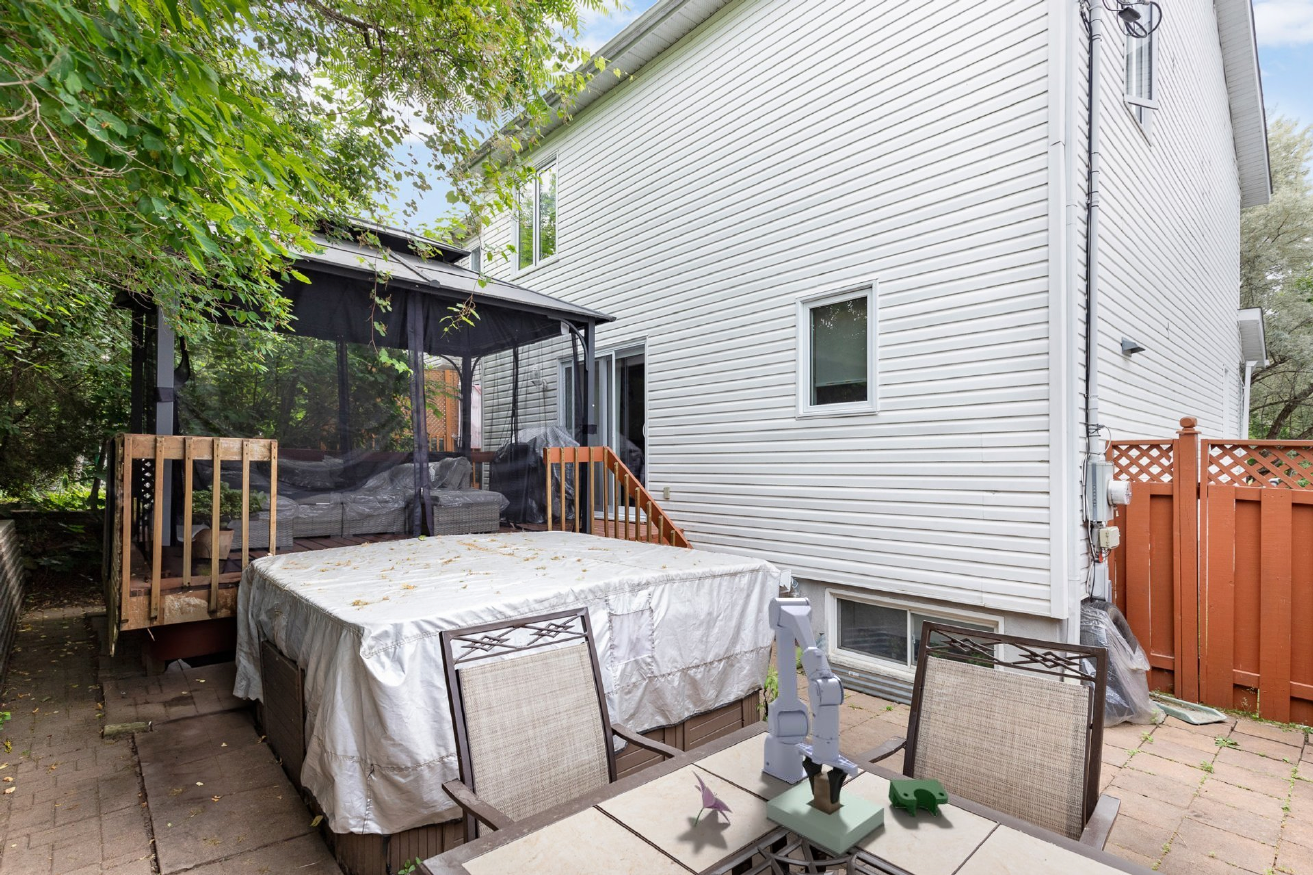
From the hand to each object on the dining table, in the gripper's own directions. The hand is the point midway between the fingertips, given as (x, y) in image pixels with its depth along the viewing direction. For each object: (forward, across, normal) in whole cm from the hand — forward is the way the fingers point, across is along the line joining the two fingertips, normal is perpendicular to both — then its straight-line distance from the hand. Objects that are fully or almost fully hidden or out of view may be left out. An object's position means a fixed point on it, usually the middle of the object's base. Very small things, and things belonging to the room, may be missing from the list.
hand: (825, 798), depth 136 cm
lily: (+5, -16, -19) cm, 26 cm away
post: (+4, 0, +1) cm, 4 cm away
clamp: (+5, +12, +20) cm, 24 cm away
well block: (+5, 0, 0) cm, 5 cm away
